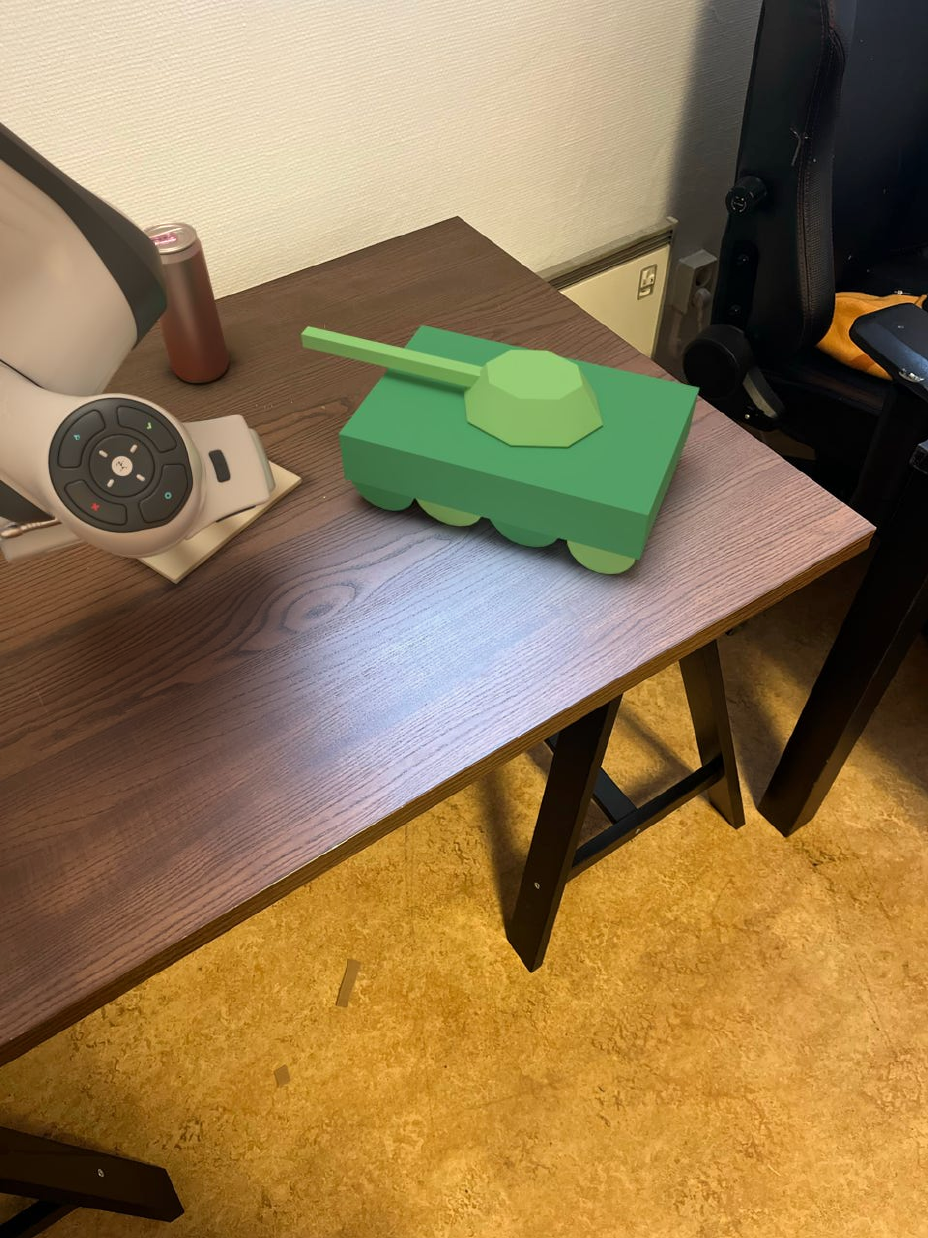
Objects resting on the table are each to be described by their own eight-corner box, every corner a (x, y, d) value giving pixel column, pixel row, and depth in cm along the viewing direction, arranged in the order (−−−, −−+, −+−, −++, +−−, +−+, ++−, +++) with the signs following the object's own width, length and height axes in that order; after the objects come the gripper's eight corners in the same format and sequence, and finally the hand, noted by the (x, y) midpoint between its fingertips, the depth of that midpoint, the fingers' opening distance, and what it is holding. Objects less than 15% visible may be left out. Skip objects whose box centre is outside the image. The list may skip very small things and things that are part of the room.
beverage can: (168, 361, 102) (128, 228, 90) (221, 346, 103) (189, 215, 92) (181, 391, 98) (142, 258, 87) (237, 376, 100) (205, 243, 88)
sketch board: (176, 584, 81) (173, 578, 81) (85, 526, 86) (83, 520, 85) (302, 482, 89) (301, 476, 89) (213, 434, 94) (212, 428, 93)
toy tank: (345, 273, 90) (707, 351, 81) (357, 380, 99) (683, 461, 91) (251, 376, 80) (655, 479, 71) (274, 485, 89) (633, 588, 80)
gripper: (-8, 586, 61) (25, 584, 74) (292, 493, 66) (273, 507, 80) (-45, 492, 60) (-5, 508, 73) (263, 406, 66) (248, 435, 79)
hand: (142, 507), depth 77 cm, fingers open, 8 cm apart
